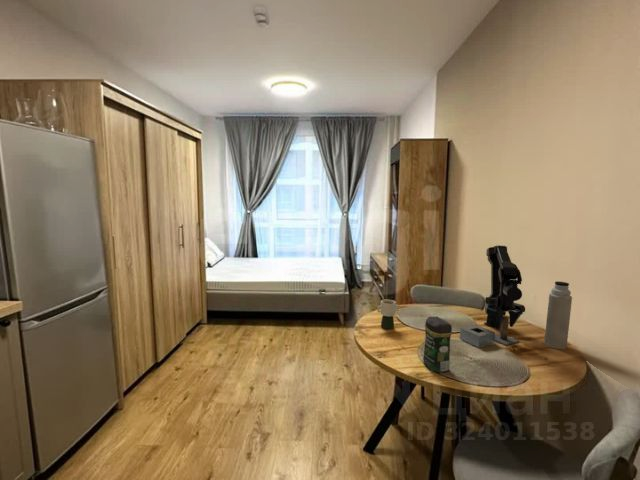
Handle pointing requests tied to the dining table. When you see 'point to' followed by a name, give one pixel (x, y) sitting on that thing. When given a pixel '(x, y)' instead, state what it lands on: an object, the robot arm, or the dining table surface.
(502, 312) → the robot arm
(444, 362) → the coffee jar
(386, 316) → the character mug
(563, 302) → the thermos bottle
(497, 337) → the pad
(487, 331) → the plate
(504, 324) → the brown cylinder rod
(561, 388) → the dining table surface
